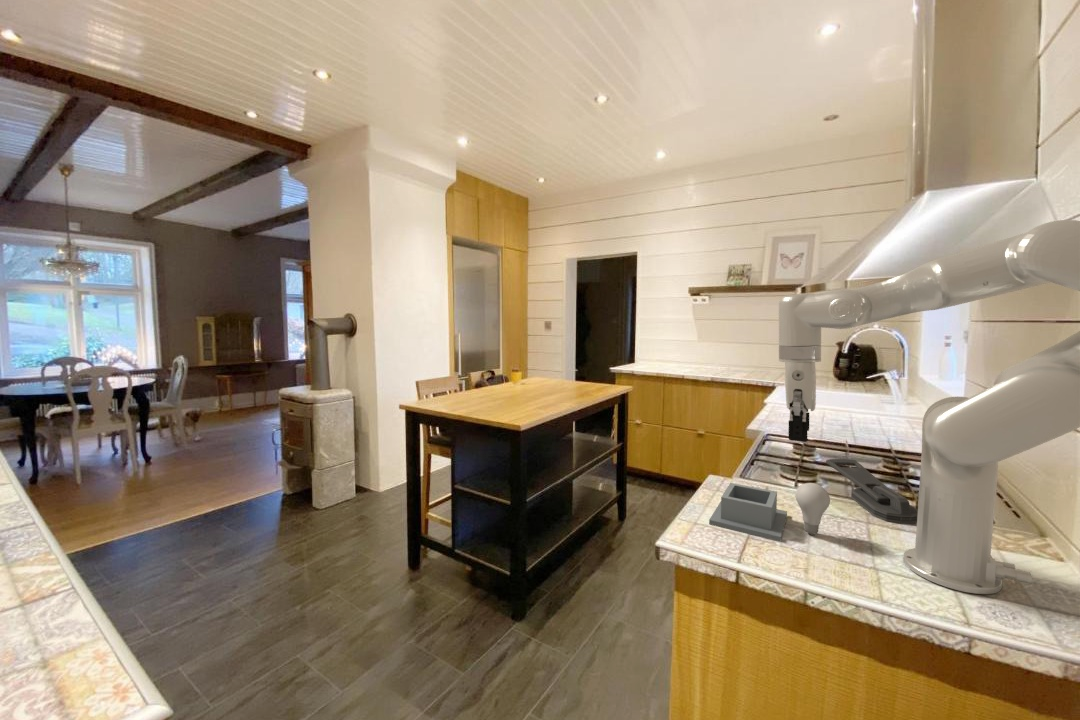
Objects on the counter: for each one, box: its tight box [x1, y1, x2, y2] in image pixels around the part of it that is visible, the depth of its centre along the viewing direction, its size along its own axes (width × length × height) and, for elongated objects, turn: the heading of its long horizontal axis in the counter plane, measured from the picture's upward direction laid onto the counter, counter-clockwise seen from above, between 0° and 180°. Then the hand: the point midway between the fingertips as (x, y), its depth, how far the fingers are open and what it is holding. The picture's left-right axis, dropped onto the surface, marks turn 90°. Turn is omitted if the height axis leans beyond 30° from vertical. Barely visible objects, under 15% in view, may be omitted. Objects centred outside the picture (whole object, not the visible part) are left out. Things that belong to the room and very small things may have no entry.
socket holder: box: [708, 482, 788, 542], centre depth 97 cm, size 14×14×6 cm
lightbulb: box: [795, 482, 831, 535], centre depth 90 cm, size 6×6×11 cm
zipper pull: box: [825, 458, 918, 525], centre depth 106 cm, size 9×7×25 cm
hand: (799, 435), depth 89 cm, fingers open, 9 cm apart
